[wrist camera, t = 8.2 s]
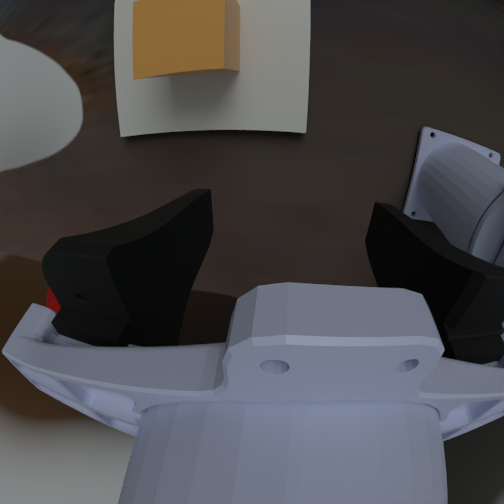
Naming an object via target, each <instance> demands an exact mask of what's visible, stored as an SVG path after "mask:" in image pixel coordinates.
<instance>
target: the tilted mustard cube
mask: <svg viewBox="0 0 504 504" xmlns="http://www.w3.org/2000/svg"><path fill="white" fill-rule="evenodd" d="M132 50H133V78H134V80H135V79H145V78H155V77H169V76H177V75H185V74H195V73H208V72H226V71H240V5H239V4H238V2H237V1H236V0H138V1H135V2H133V24H132Z"/></svg>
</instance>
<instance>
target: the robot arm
mask: <svg viewBox="0 0 504 504" xmlns="http://www.w3.org/2000/svg"><path fill="white" fill-rule="evenodd" d="M431 132H433V136H432V137H430V134H431ZM489 154H490V156H489ZM499 162H500V155H499V153H497V152H495V151H493V150H491V149H488V148H486V147H483V146H481V145H478V144H476V143H473V142H471V141H468V140H465V139H463V138H460V137H457V136H454V135H451V134H448V133H445V132H442V131H439V130H436V129H433V128H429V127H423V128H422V129H421V132H420V138H419V144H418V149H417V154H416V159H415V164H414V168H413V173H412V177H411V181H410V185H409V189H408V193H407V197H406V201H405V205H404V208H403V212H402V211H400V210H399V209H397V208H395V207H394V206H392V205H390V204H387V203H379V202H375V204H374V208H373V212H372V217H371V221H370V224H369V228H368V232H367V236H366V239H365V243H366V248H367V253H368V258H369V261H370V264H371V267H372V270H373V273H374V276H375V279H376V282H377V285H378V287H357V286H338V285H321V284H305V283H291V282H286V283H278V284H270V285H261V286H257V287H256V288H254V289H252V290H251V291H249V292H248V293H246V294H244V295H243V296H241V297H240V298H238V299H237V302H236V305H235V308H234V310H233V313H232V317H231V321H230V326H229V331H228V336H227V340H226V343H215V344H201V345H184V346H177V345H178V340H179V335H180V330H181V326H182V321H183V317H184V313H185V308H186V305H187V302H188V298H189V294H190V291H191V288H192V286H193V283H194V281H195V278H196V276H197V274H198V271H199V269H200V267H201V264H202V262H203V260H204V257H205V255H206V253H207V250H208V248H209V245H210V241H211V238H212V234H213V230H214V228H213V215H212V201H211V189H195V190H193V191H190V192H188V193H186V194H185V195H183V196H181V197H179V198H177V199H175V200H173V201H172V202H170V203H168V204H166V205H164V206H162V207H160V208H158V209H156V210H154V211H152V212H150V213H148V214H146V215H143V216H141V217H139V218H136V219H134V220H131V221H128V222H125V223H122V224H119V225H116V226H113V227H110V228H107V229H103V230H99V231H95V232H91V233H86V234H81V235H75V236H70V237H63V238H60V239H59V240H58V241H57V242H56V243H55V244H54V245H53V246H52V247H51V248H50V249H49V251H48V252H47V253H46V254H45V255H44V257H43V259H42V269H43V273H44V276H45V279H46V281H47V283H48V285H49V287H50V289H51V291H52V292H53V294H54V296H55V298H56V299H57V301H58V303H59V305H60V306H61V308H60V310H59V311H58V313H56V312H54V311H53V310H52V309H50V308H47V307H44V306H41V305H38V304H35V303H33V304H32V305H31V306H30V308H29V309H28V311H27V312H26V313H25V315H24V316H23V318H22V319H21V321H20V322H19V324H18V325H17V327H16V328H15V330H14V332H13V333H12V335H11V336H10V338H9V340H8V341H7V343H6V345H5V346H4V348H3V350H2V352H3V354H4V355H5V356H6V357H7V358H8V360H10V362H11V363H12V364H13V365H14V366H15V367H16V368H17V369H18V370H19V371H20V372H21V373H22V374H23V375H24V376H25V377H26V378H27V379H28V380H29V381H30V382H31V383H33V384H34V385H35V386H36V387H37V388H38V389H40V390H41V391H43V392H45V393H46V394H48V395H50V396H52V397H54V398H55V399H57V400H59V401H61V402H63V403H64V404H66V405H68V406H70V407H72V408H74V409H76V410H78V411H80V412H81V413H84V414H85V415H87V416H89V417H91V418H94V419H96V420H98V421H100V422H102V423H104V424H106V425H109V426H111V427H113V428H116V429H118V430H120V431H123V432H125V433H128V434H130V435H133V436H135V437H136V440H135V443H134V446H133V450H132V453H131V457H130V460H129V464H128V467H127V471H126V475H125V478H124V482H123V486H122V490H121V494H120V498H119V503H118V504H447V479H446V467H445V456H444V448H443V441H445V440H448V439H450V438H453V437H456V436H458V435H460V434H463V433H466V432H468V431H470V430H473V429H475V428H477V427H480V426H482V425H484V424H486V423H489V422H491V421H493V420H495V419H497V418H499V417H502V416H503V415H504V168H502V167H501V166H499ZM413 211H415V213H414V214H412V215H411V213H412V212H413ZM413 219H417V220H424V221H430V222H435V224H436V225H437V226H438V228H439V229H440V230H441V232H442V233H443V234H444V236H445V237H446V238H447V240H448V241H449V242H450V243H448V242H447V241H445V240H443V239H441V238H440V237H438V236H437V235H435V234H434V233H432V232H431V231H429V230H428V229H426V228H425V227H423V226H422V225H420V224H419V223H417V222H416V221H415V220H413Z"/></svg>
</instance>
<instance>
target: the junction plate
mask: <svg viewBox="0 0 504 504" xmlns="http://www.w3.org/2000/svg"><path fill="white" fill-rule="evenodd" d="M135 1H138V0H115V11H114V64H115V83H116V96H117V107H118V116H119V125H120V133H121V137H125V136H133V135H142V134H152V133H163V132H176V131H195V130H266V131H285V132H299V133H306V124H307V108H308V88H309V63H310V0H236V1H237V2H238V4H239V5H240V71H226V72H208V73H195V74H185V75H177V76H169V77H155V78H145V79H135V80H134V78H133V50H132V24H133V2H135Z"/></svg>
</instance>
